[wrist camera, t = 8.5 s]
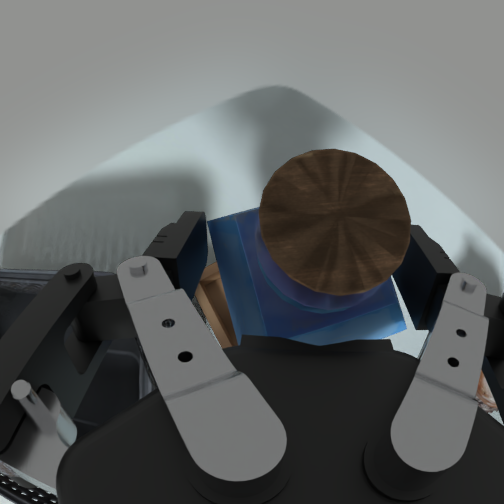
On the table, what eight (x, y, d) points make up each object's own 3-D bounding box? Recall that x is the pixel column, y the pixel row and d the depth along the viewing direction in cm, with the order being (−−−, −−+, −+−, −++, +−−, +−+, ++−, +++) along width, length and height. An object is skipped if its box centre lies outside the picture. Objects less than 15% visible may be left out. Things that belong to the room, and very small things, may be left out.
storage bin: (0, 430, 27) (-74, 442, 14) (-1, 288, 32) (-77, 263, 19) (207, 489, 25) (168, 563, 12) (207, 300, 30) (159, 270, 17)
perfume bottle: (256, 367, 17) (225, 416, 5) (227, 260, 19) (162, 133, 7) (363, 334, 17) (501, 312, 5) (330, 231, 19) (398, 86, 7)
